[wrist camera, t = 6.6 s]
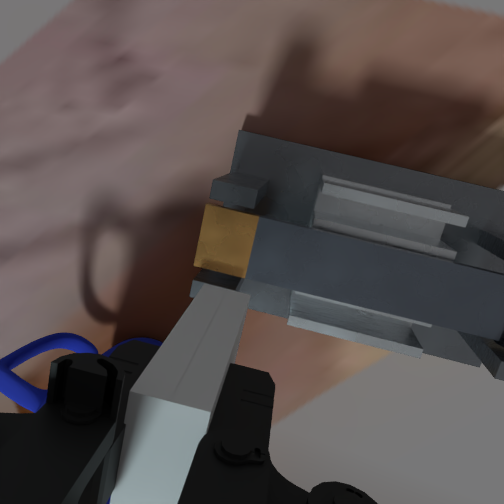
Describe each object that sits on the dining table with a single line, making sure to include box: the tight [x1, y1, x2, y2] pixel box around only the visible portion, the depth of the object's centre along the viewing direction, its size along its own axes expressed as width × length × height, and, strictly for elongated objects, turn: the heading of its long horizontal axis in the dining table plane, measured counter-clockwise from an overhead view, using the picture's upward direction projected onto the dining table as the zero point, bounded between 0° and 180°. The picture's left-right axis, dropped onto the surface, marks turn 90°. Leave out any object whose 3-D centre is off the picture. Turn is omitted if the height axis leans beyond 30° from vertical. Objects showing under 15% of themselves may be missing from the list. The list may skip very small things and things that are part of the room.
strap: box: [194, 203, 504, 347], centre depth 26 cm, size 19×4×1 cm, turn 78°
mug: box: [0, 333, 163, 504], centre depth 32 cm, size 8×12×10 cm
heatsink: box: [190, 130, 504, 381], centre depth 28 cm, size 20×12×9 cm, turn 78°
